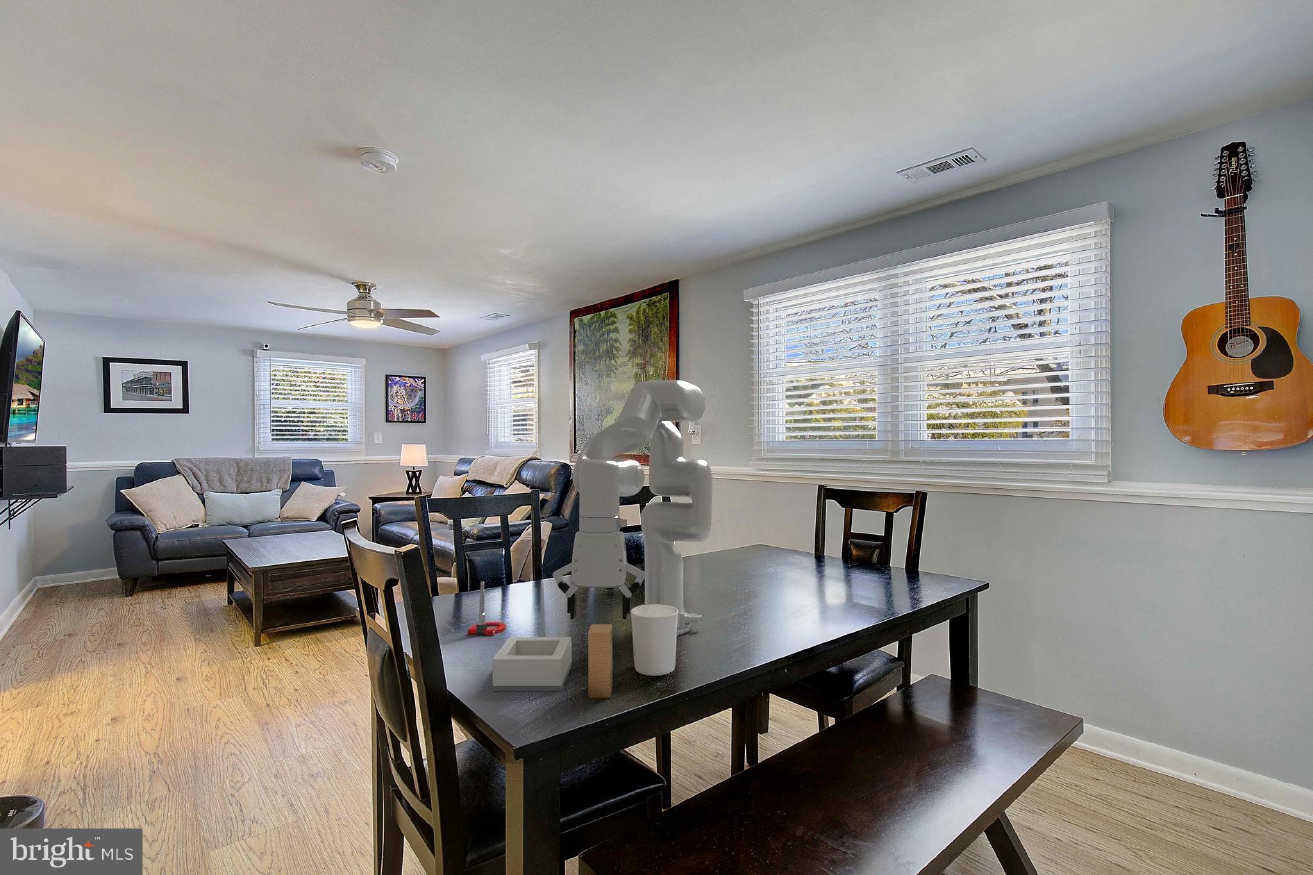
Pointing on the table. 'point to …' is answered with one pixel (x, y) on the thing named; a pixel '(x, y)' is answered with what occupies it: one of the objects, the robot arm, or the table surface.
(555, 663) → the well
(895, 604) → the table surface
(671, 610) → the candle holder
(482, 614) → the tow hook
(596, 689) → the wooden square beam
